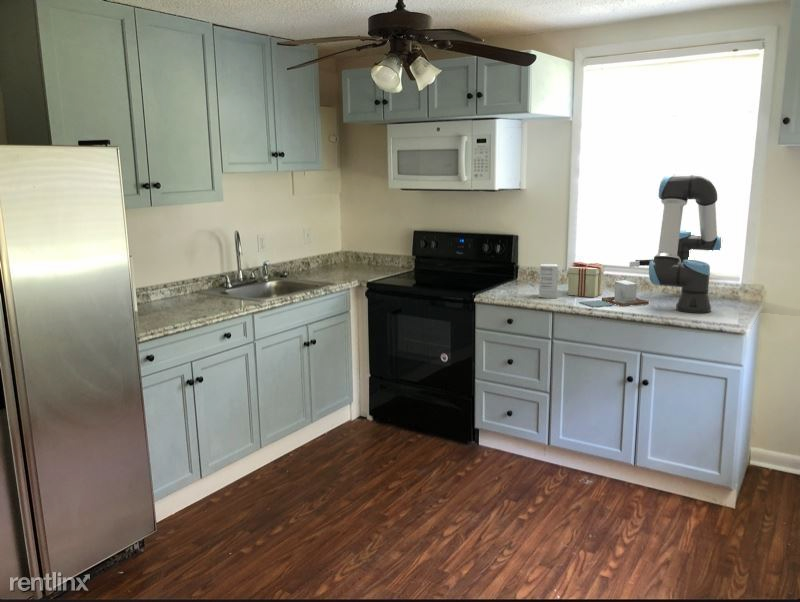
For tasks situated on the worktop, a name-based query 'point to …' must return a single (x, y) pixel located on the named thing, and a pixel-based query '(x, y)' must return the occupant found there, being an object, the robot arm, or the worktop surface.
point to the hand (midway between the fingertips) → (640, 266)
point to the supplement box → (548, 280)
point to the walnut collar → (640, 301)
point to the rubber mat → (596, 303)
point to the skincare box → (625, 291)
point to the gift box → (585, 279)
